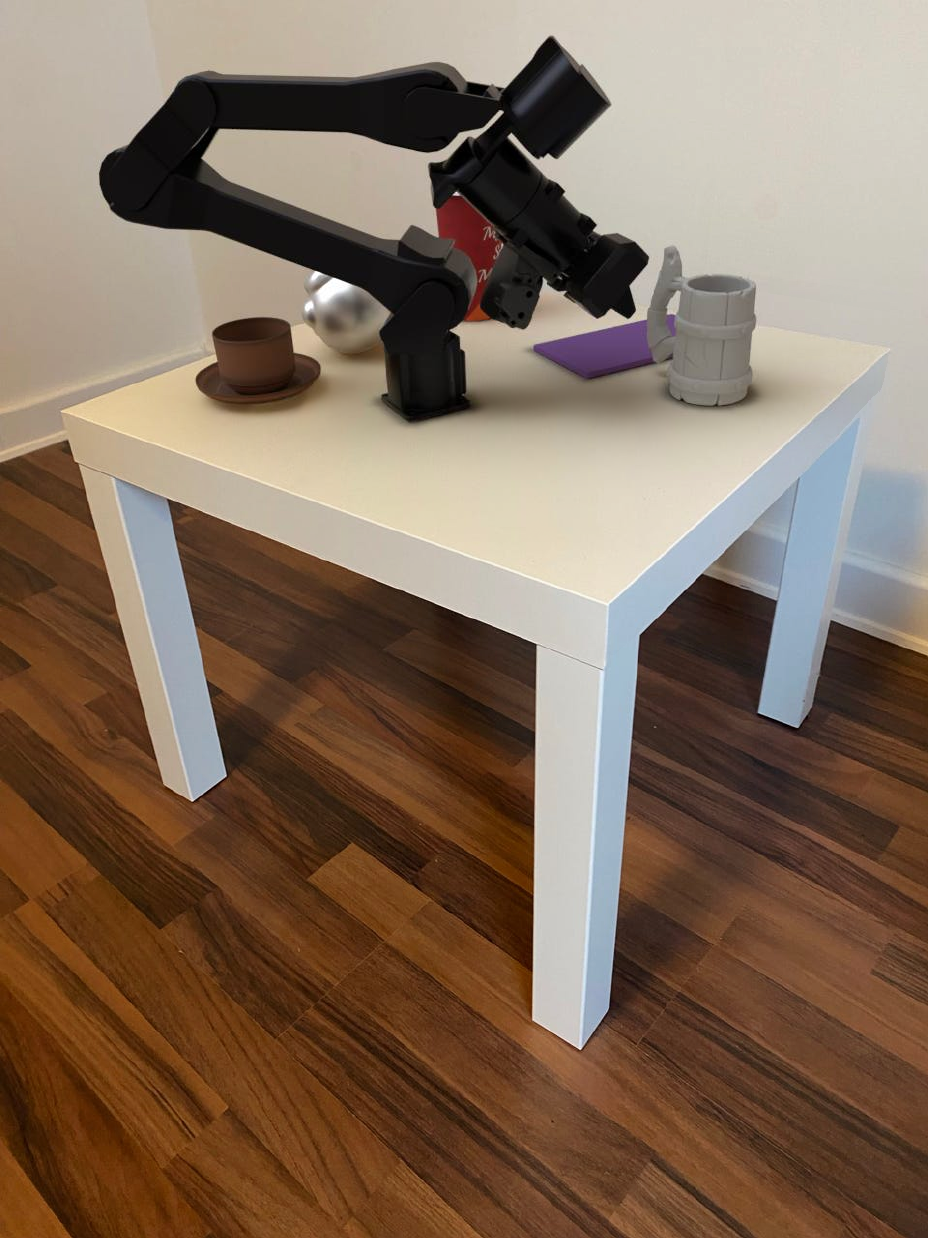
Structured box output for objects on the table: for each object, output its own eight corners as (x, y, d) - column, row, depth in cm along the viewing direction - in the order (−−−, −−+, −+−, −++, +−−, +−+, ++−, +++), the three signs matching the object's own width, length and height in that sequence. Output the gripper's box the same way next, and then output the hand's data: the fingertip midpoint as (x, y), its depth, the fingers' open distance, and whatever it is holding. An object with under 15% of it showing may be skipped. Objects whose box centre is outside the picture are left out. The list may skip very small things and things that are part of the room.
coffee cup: (509, 322, 110) (507, 178, 101) (436, 325, 110) (428, 182, 102) (507, 300, 117) (505, 164, 108) (439, 303, 117) (431, 167, 109)
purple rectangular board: (587, 378, 95) (587, 372, 94) (533, 350, 102) (533, 344, 102) (732, 343, 101) (732, 337, 101) (671, 318, 109) (671, 313, 108)
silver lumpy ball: (345, 331, 110) (335, 238, 104) (412, 345, 105) (405, 248, 99) (289, 356, 104) (275, 258, 98) (357, 371, 99) (346, 270, 93)
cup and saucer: (178, 390, 96) (165, 328, 93) (285, 361, 102) (276, 302, 99) (233, 426, 88) (221, 360, 85) (346, 392, 94) (339, 328, 91)
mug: (711, 414, 86) (726, 275, 79) (617, 379, 94) (623, 249, 87) (768, 392, 90) (787, 257, 83) (673, 360, 98) (683, 234, 91)
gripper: (423, 252, 90) (536, 352, 99) (489, 307, 75) (614, 419, 84) (502, 150, 87) (610, 262, 96) (586, 186, 72) (705, 315, 81)
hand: (630, 313), depth 89 cm, fingers closed
